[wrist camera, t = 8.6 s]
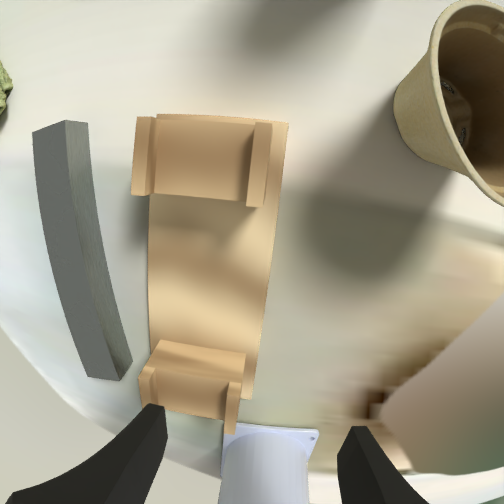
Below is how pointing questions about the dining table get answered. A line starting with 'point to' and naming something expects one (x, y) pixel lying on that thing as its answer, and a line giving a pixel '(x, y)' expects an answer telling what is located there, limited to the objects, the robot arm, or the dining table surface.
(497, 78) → the flower pot
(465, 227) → the dining table surface
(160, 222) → the tan piece
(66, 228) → the rail
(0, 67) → the washcloth
